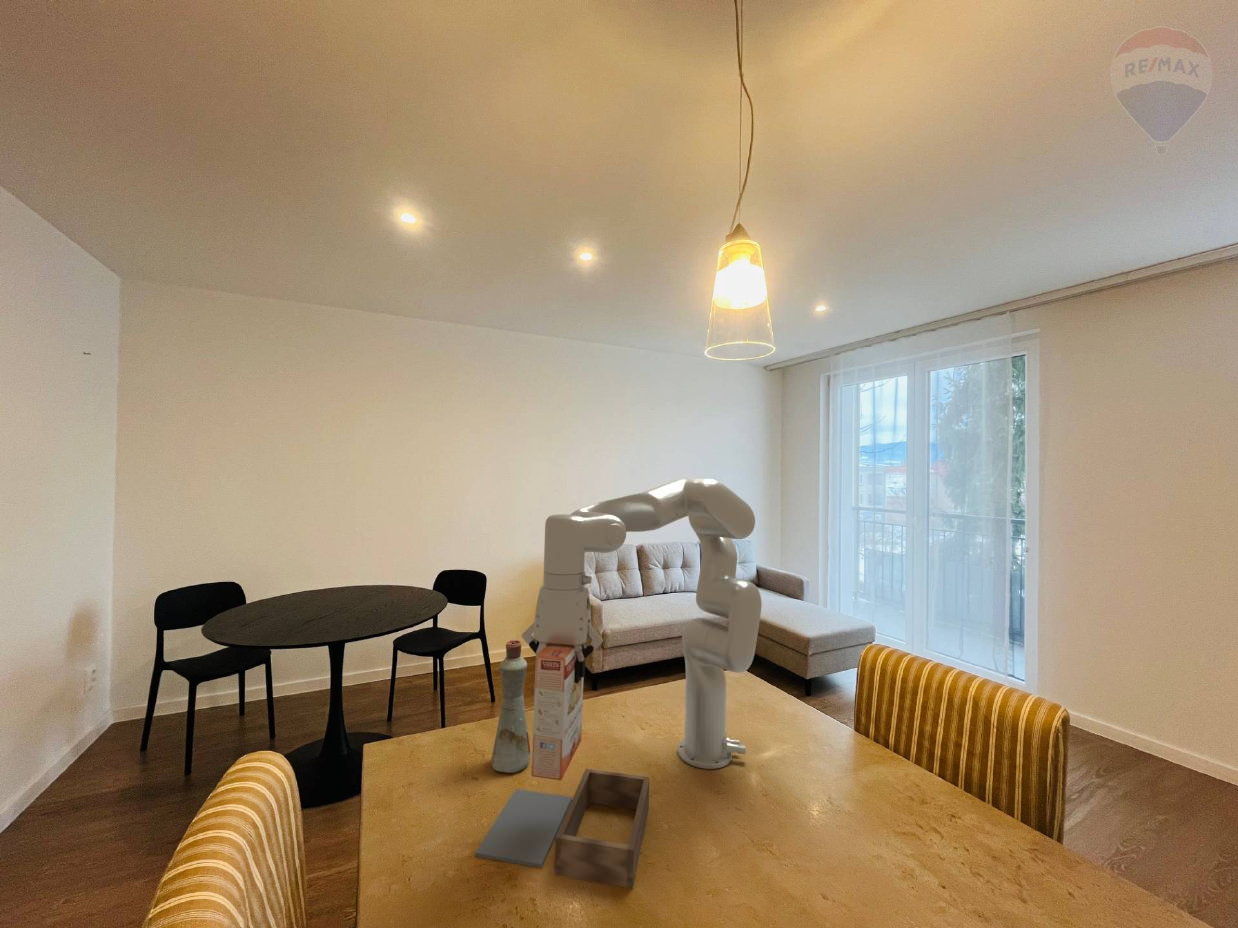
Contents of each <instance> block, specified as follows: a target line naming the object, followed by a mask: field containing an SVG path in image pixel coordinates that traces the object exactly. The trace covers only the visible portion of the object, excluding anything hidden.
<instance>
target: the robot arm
mask: <svg viewBox="0 0 1238 928" xmlns="http://www.w3.org/2000/svg"><path fill="white" fill-rule="evenodd" d="M686 517H688V522H689V525H690V526H691V528H692V530H693V531H694V533H695V534H696V537H697V538H698V541H699V543H700V545H701V550H702V551H701V554H702V555H701V564H700V569H699V575H698V581H697V586H696V593H695V601H696V606H697V607H698V608H699V609H700V610H701V611H703V612H705V613H708V614H710V615H714V616H716V617H720V618H724V619H728V624H726V623H723V622H720V621H715V620H712V619H709V618H703V617H697V618H694V619H693V618H692V619H691V620H689V621H688V622H687V623H686V625H685V626H684V628H683V631H682V637H681V643H682V651H683V655H684V663H685V664H684V665H685V697H684V698H685V699H684V700H685V701H684V702H685V703H684V705H685V707H684V708H685V710H684V711H685V712H684V719H685V720H684V739H682V740H681V741H680V742H679V743H678V747H677V753H678V756H679V758H680V759H681V760H683V762H685V763H687V764H688V765H691V766H693V767H696V768H699V769H706V770H716V769H720V768H724V767H726V766H727V765H729V764H730V763H731V762H732V759H733V753H734V754H735V753H736V754H739V755H741V754H742V755H746V744H742V743H741V744H740V739H730V737H728V733H727V730H726V729H727V728H726V726H727V725H726V722H727V717H726V716H727V715H726V714H727V677H726V673H725V671H729V672H731V673H735V674H741V673H742V674H743V673H744V672H747V670H748V669H749V668H750V666H751V665H752V663H753V661H754V657H755V655H756V654H755V653H756V648H757V640H758V636H759V635H758V634H759V627H760V621H761V615H762V608H763V607H762V605H763V604H762V595H761V593H760V590H759V588H758V586H757V585H755V584H754V583H753V582H752V581H750V580H746V579H742V578H737V577H736V575H737V573H736V572H737V565H738V552H737V548H736V546H735V544H734V542H733V540H743V539H746V538H748V537H749V536H751V534H753V531H754V529H755V527H756V517H755V513H754V511H753V509H752V508H751V506H750V504H748V503H747V502H746V501H745V500H744V499H742V498H741V497H740V496H739V495H737V494H736V493H735V492H734V491H732V490H731V489H730V488H729V487H727V486H726V485H724V483H722V482H720V481H718V480H716V479H712V478H696V477H695V478H687V477H685V478H679V479H675V480H672V481H670V482H667V483H664V484H662V485H660V486H657V487H653V488H651V489H647V490H645V491H642V492H637V493H633V494H629V495H625V496H622V497H617V498H613V499H608V500H603V501H600V502H597V503H593V504H590V505H587V506H585V507H582V508H579V509H576V510H575V511H573V512H572V513H570V514H565V513H564V514H552V515H550V516H548V517H547V518H546V519H545V524H544V547H543V548H544V552H543V554H544V555H543V556H544V557H543V583H542V586H540V588H539V591H538V594H537V595H538V596H537V602H536V605H535V606H536V607H535V613H534V622H533V623H532V624H531V625H530V626H529V627H528V628H527V629H526V630H525V631H523V633H522V634H521V638H522V639H523V640H524V642H525V643H526V644H527V645H528V646H529V648H530V649H531V650H532V651H533V653H534V655H535V656H536V655H537V654H538V653H539V652H540V651H541V650H542V649H543V648H544V647H545V646H546V645H547V644H559V645H572V646H574V649H575V652H576V655H577V660H576V661H575V675H574V682H575V683H577V684H578V683H579V682H580V680H581V678H582V677H583V678H584V677H585V675H586V658H588V657H589V656H590V655H591V654H592V653H593V652H594V651H595V650H596V649H598V647H599V646H601V645H602V643H603V642H604V637H602V636H601V634H599V632H598V631H597V630H596V629H595V628H594V627H593V625H592V614H591V613H592V612H591V610H592V609H591V598H590V591H589V589H588V587H585V585H588V584H589V585H590V584H592V579H593V578H592V576H590V575H589V576H588V575H586V572H585V556H586V555H585V554H586V553H599V554H609V553H612V552H615V551H617V550H618V549H620V547H622V546H623V545H624V543H625V541H626V537H627V533H628V532H631V533H633V532H634V533H635V532H636V533H637V532H638V533H639V532H642V533H643V532H649V531H655V530H659V529H661V528H663V527H666V526H667V525H670V524H672V523H674V522H676V521H679V520H681V519H683V518H686ZM589 638H591V640H592V642H591V643H590V644H588V645H587V646H586V643H587V640H588V639H589Z"/></svg>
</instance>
